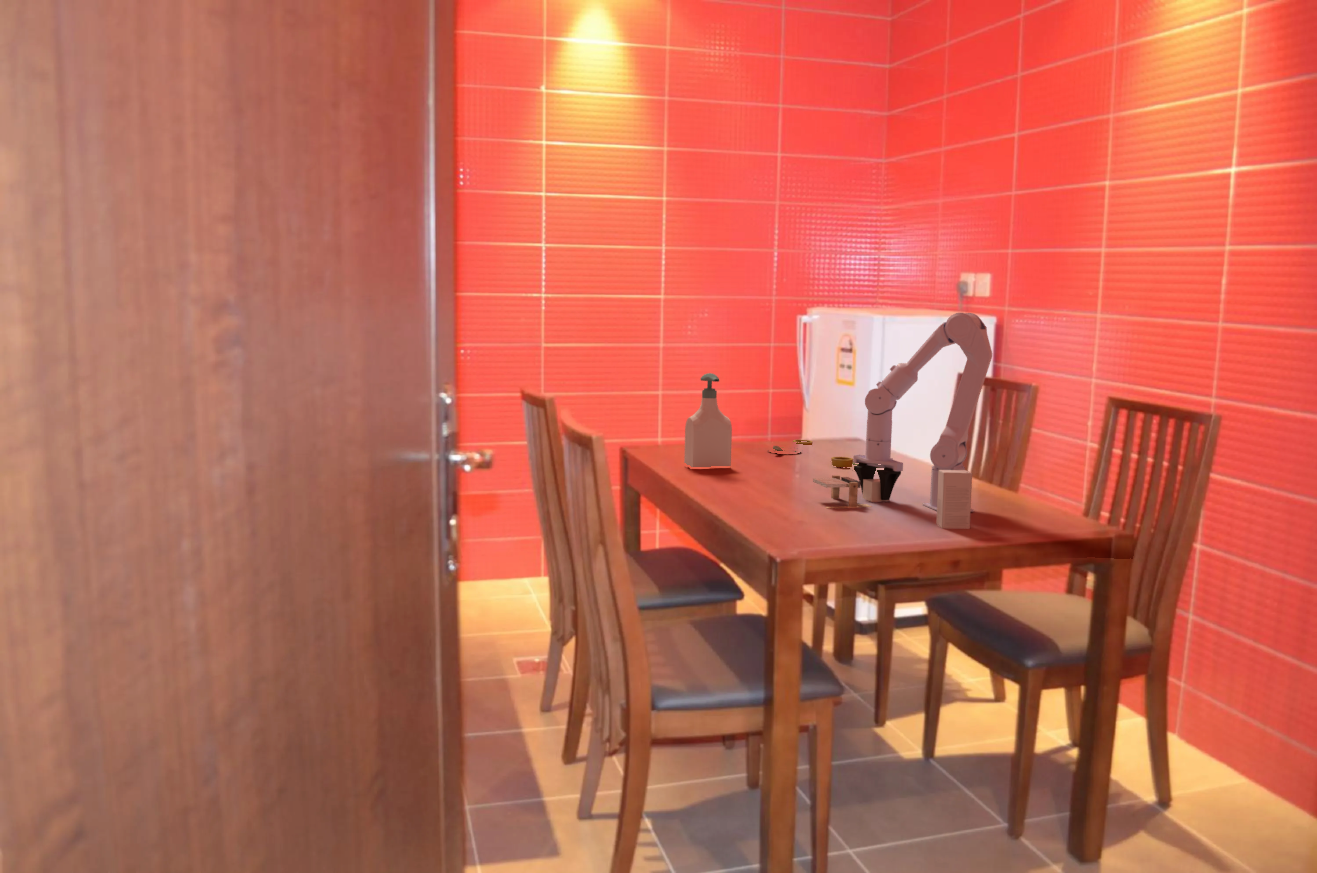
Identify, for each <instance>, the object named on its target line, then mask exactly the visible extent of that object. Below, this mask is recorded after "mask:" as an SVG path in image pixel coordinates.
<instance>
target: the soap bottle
mask: <svg viewBox="0 0 1317 873" xmlns="http://www.w3.org/2000/svg"><path fill="white" fill-rule="evenodd" d="M700 381H702V382H703V381H704V382H707V387H705V388H703V389H702V391H701V402H700V406H699V408H698V409H697V411H696V412H695V413H693V414H692V415H691V416H689V417H687V419H686V422H685V426H684V457H683V458H684V459H683V460H684V462H683V463H686V464H687V465H690V466H691V467H711V466H731V467H732V443H733V442H732V440H733V439H732V438H733V427H732V421H731V419H730V418H729V417H728V416H726V415H725V414H724V413H723V412H722V411H721V410H720V409H719V406H718V399H717V393H718V392H717V390H716V388H713V382H714V383H715V382H717V383H718V382H720V378H719V376H718V375H716V374H714V373H711V372H708V373H705V374H703V375H702V376H701V377H700Z"/></svg>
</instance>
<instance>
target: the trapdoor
mask: <svg viewBox="0 0 1317 873" xmlns="http://www.w3.org/2000/svg"><path fill="white" fill-rule="evenodd" d="M841 480H842V481H841ZM844 481H845V482H844ZM846 482H847V483H846ZM850 482H857V483H858V489H860V488H861V485H860V481H859V480H857V479H854V478H852V477H849V476H840V480H839V479H836V478H832V477H830V478H829V477H827V478H826V477H825V478H824V477H823V478H812V483H813V484H816V485H820V486H822V487H824V488H827V489H828V488H830V489H832V488H836V487H840V488H849V483H850Z"/></svg>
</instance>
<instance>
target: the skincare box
mask: <svg viewBox="0 0 1317 873" xmlns="http://www.w3.org/2000/svg"><path fill="white" fill-rule="evenodd" d="M972 483H973V473H972V472H971V471H968V470H966V469H965V470H939V471H938V496H937V510H936V525H937V526H938V527H939V528H940V529H947V530H948V529H949V530H950V529H954V530H956V529H962V530H964V529H965V530H966V529H967V530H970V529H971V512H970V510H971V509H972V490H971V489H972V485H973V484H972Z"/></svg>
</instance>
